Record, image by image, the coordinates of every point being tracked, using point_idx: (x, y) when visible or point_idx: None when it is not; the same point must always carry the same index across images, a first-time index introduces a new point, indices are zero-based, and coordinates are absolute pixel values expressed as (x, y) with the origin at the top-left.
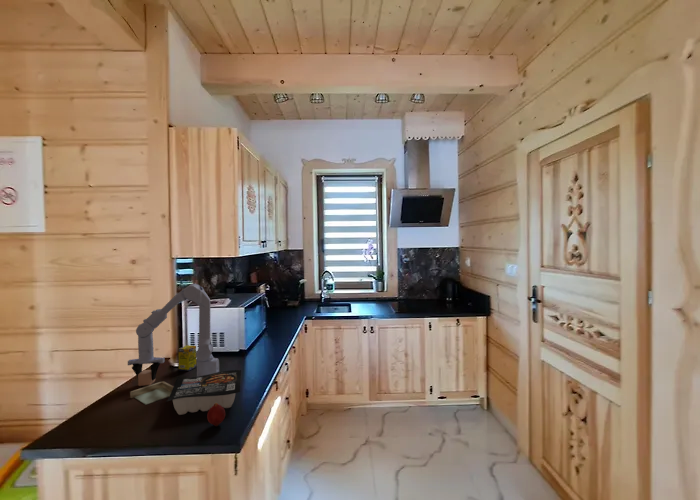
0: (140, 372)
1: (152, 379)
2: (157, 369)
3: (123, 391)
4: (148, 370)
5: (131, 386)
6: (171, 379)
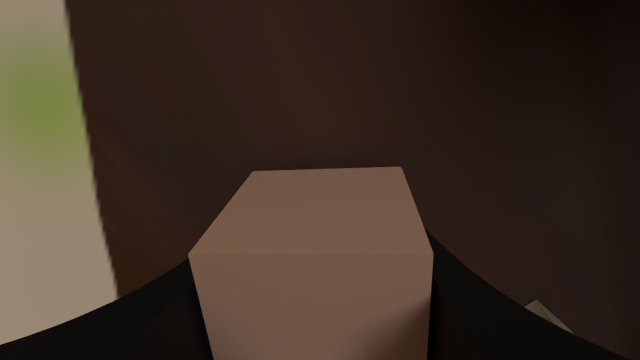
0: (213, 351)
1: None
2: (509, 306)
3: None
4: (310, 285)
5: (183, 240)
6: (601, 96)
